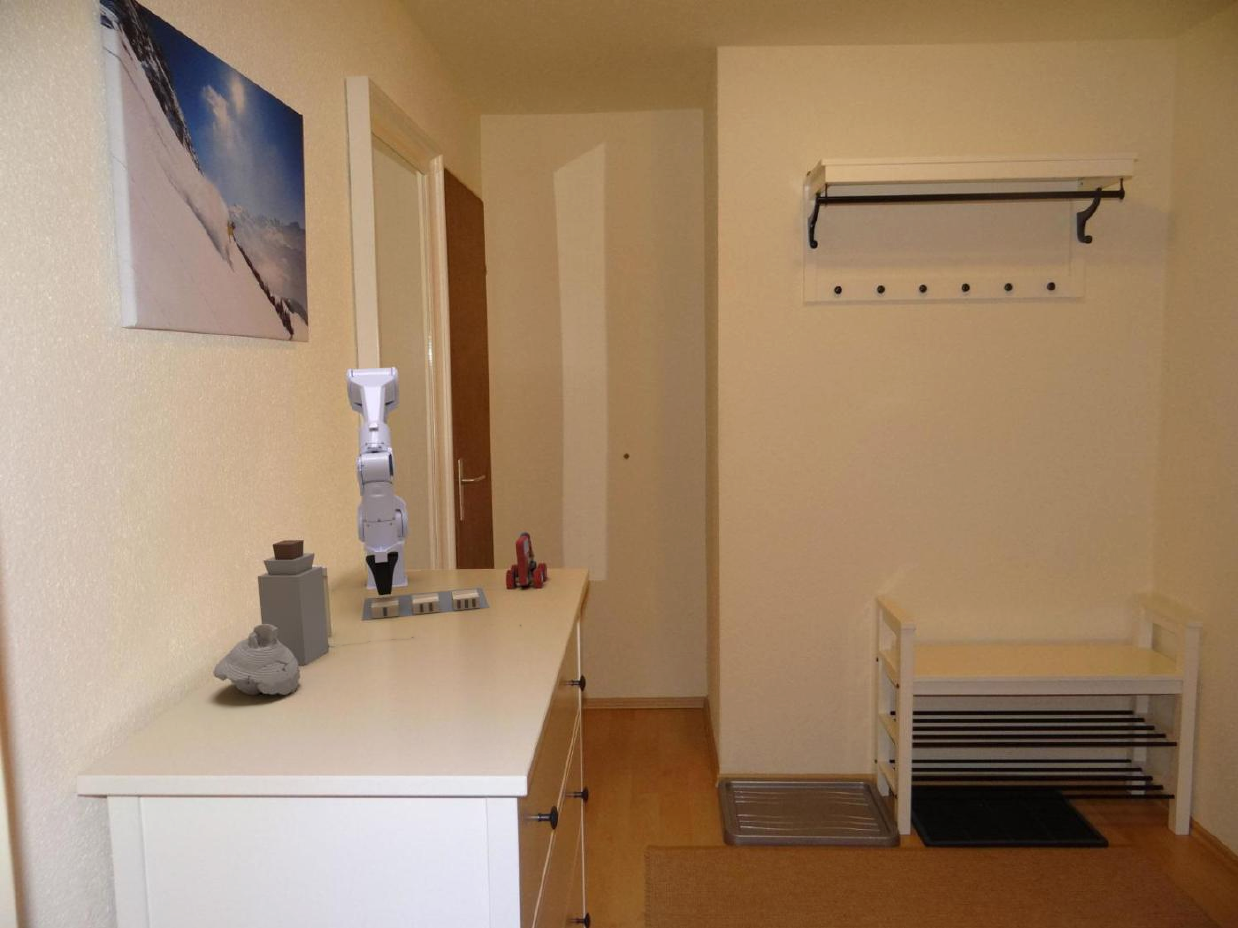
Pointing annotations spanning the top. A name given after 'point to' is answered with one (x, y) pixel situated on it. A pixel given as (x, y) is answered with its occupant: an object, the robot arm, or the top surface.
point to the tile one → (385, 607)
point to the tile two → (425, 603)
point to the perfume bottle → (295, 601)
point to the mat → (407, 610)
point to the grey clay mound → (260, 664)
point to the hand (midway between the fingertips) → (384, 594)
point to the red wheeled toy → (525, 566)
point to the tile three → (465, 599)
